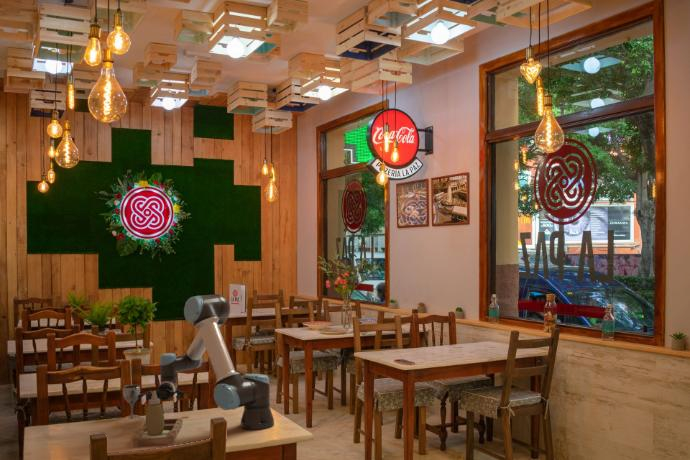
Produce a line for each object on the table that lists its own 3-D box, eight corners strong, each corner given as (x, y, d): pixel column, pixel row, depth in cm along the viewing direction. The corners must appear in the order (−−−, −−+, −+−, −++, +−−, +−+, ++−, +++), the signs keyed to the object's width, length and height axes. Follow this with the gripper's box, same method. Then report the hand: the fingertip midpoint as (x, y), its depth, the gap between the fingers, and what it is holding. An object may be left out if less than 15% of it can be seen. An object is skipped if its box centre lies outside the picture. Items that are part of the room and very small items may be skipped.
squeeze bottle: (159, 436, 270) (158, 393, 271) (141, 436, 272) (140, 392, 272) (168, 431, 278) (167, 389, 278) (151, 431, 279) (150, 388, 280)
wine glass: (133, 414, 324) (133, 384, 325) (144, 416, 320) (143, 385, 320) (120, 418, 318) (119, 387, 318) (130, 420, 313) (129, 388, 314)
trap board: (146, 426, 300) (146, 419, 300) (182, 424, 302) (182, 417, 302) (132, 447, 268) (132, 439, 268) (172, 444, 270) (172, 436, 270)
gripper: (193, 396, 307) (187, 407, 286) (138, 400, 304) (129, 410, 283) (192, 380, 307) (187, 390, 286) (138, 384, 304) (128, 393, 283)
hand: (158, 400), depth 285 cm, fingers open, 13 cm apart
